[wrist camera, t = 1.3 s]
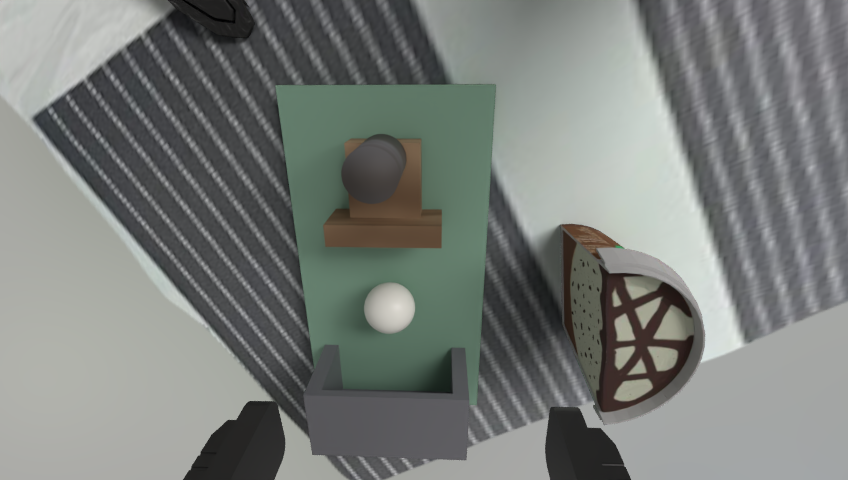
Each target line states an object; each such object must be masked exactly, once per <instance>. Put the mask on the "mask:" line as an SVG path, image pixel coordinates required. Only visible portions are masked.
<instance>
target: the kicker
mask: <svg viewBox="0 0 848 480" xmlns="http://www.w3.org/2000/svg"><path fill="white" fill-rule="evenodd" d="M344 146H345V161H344V163H343V166H342V171H341V177H342V182H343V185H344V187H345V189H346V190H347V192H348V196H349V209H335V211H334V212H333V213H332V214H331V216H330V217H329V218H328V220H327V221H326V222H325V223H324V225H323V229H324V238H325V247H372V248H442V209H422V150H421V139H396V138H394V137H393V136H390V135H387V134H376V135H373V136H371V137H369V138H368V139H363V138H351V139H349V140H348V141H346V142H345V143H344Z"/></svg>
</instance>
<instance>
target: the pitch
mask: <svg viewBox="0 0 848 480" xmlns="http://www.w3.org/2000/svg"><path fill="white" fill-rule="evenodd" d="M275 86H276V94H277V101H278V108H279V115H280V123H281V130H282V137H283V145H284V152H285V159H286V167H287V174H288V181H289V189H290V196H291V203H292V210H293V218H294V225H295V232H296V240H297V247H298V254H299V262H300V269H301V276H302V283H303V291H304V298H305V305H306V313H307V320H308V327H309V335H310V342H311V349H312V356H313V364H314V369H315V367H316V365H317V362H318V360H319V358H320V355H321V353H322V351H323V349H324V346H325V344H326V345H339V353H340V363H341V372H342V382H343V389H369V390H404V391H440V392H450V384H451V347H453V348H465V352H466V364H467V376H468V389H469V405H477V391H478V375H479V358H480V341H481V325H482V308H483V292H484V275H485V258H486V242H487V225H488V208H489V192H490V175H491V158H492V142H493V125H494V109H495V92H496V85H495V84H445V85H275ZM376 134H387V135H390V136H393V137H394V138H396V139H421V150H422V209H442V248H372V247H325V238H324V229H323V225H324V223H325V222H326V221H327V220H328V218H329V217H330V216H331V214H332V213H333V212H334V211H335V209H349V196H348V192H347V190H346V189H345V187H344V185H343V182H342V177H341V171H342V166H343V163H344V161H345V146H344V143H345V142H346V141H348V140H349V139H351V138H363V139H368V138H369V137H371V136H373V135H376ZM387 282H394V283H398V284H400V285H402V286H404V287H405V288H407V289H408V290H409V292H410V293H411V295H412V296H413V299H414V302H415V313H414V317H413V319H412V321H411V323H410V324H409V325H408V326H407V327H406V328H405V329H403V330H402V331H400V332H397V333H393V334H385V333H381V332H379V331H377V330H375V329H374V328H373V327H372V326H371V325H370V324H369V323H368V321H367V319H366V317H365V313H364V304H365V300H366V298H367V296H368V294H369V292H370V291H371V290H372V289H373V288H375V287H376V286H378V285H380V284H382V283H387Z"/></svg>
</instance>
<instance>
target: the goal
mask: <svg viewBox="0 0 848 480" xmlns="http://www.w3.org/2000/svg"><path fill="white" fill-rule="evenodd" d="M303 397H304V404H305V410H306V416H307V423H308V429H309V436H310V442H311V448H312V454H313V455H334V456H362V457H391V458H419V459H447V460H466V457H467V456H466V455H467V438H468V419H469V389H468V376H467V364H466V352H465V348H453V347H451V384H450V392H440V391H404V390H369V389H343V382H342V372H341V363H340V353H339V345H326V344H325V346H324V349H323V351H322V353H321V355H320V358H319V360H318V362H317V365H316V367H315V369H314V372H313V374H312V376H311V379H310V381H309V383H308V385H307V388H306V390H305V392H304V395H303Z"/></svg>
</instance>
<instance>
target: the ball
mask: <svg viewBox="0 0 848 480" xmlns="http://www.w3.org/2000/svg"><path fill="white" fill-rule="evenodd" d="M364 313H365V317H366V319H367V321H368V323H369V324H370V325H371V326H372V327H373V328H374V329H375V330H377V331H379V332H381V333H385V334H393V333H397V332H400V331H402V330H403V329H405V328H406V327H407V326H408V325H409V324H410V323H411V321H412V319H413V317H414V313H415V302H414V299H413V296H412V295H411V293H410V292H409V290H408V289H407V288H405V287H404V286H402V285H400V284H398V283H394V282H387V283H382V284H380V285H378V286H376V287H375V288H373V289H372V290H371V291H370V292H369V294H368V296H367V298H366V300H365V304H364Z"/></svg>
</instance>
